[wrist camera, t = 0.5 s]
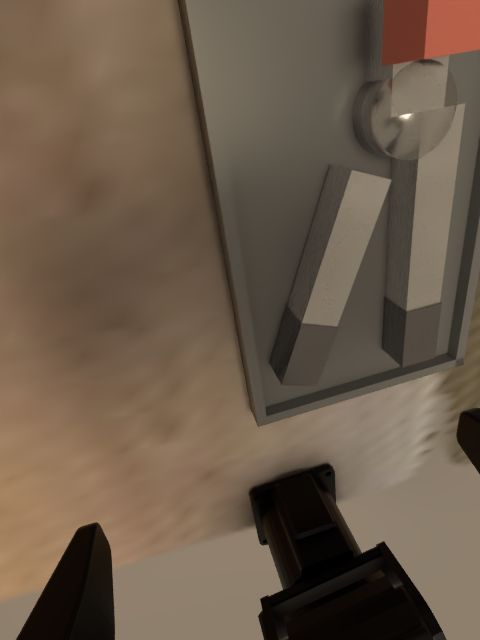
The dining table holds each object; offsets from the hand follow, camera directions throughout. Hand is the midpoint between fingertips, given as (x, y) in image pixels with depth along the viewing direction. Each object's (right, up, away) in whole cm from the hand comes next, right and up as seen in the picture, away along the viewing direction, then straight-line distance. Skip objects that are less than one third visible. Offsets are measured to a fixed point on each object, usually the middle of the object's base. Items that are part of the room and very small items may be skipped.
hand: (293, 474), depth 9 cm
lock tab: (+6, +14, +5) cm, 16 cm away
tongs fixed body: (+6, +9, +10) cm, 15 cm away
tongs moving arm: (+3, +6, +11) cm, 13 cm away
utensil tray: (+4, +10, +11) cm, 15 cm away
